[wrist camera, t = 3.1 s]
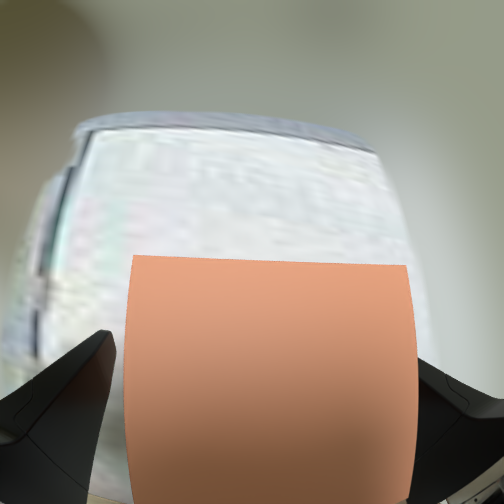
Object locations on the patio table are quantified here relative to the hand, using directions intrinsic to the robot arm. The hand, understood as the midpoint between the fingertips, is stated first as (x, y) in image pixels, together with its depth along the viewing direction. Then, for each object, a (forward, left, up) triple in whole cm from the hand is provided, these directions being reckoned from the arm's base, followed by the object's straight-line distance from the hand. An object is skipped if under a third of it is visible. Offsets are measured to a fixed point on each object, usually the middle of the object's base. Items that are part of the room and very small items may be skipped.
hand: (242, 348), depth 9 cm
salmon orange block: (-1, -1, -7) cm, 7 cm away
